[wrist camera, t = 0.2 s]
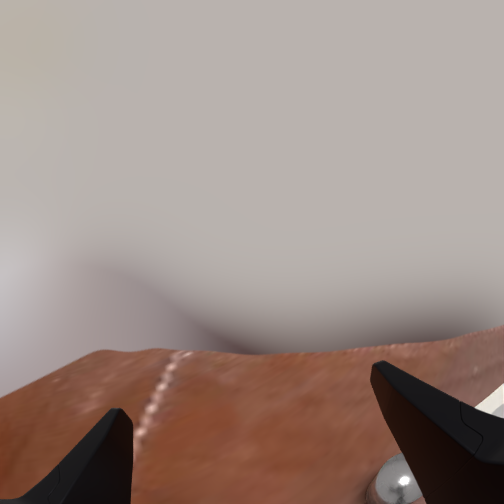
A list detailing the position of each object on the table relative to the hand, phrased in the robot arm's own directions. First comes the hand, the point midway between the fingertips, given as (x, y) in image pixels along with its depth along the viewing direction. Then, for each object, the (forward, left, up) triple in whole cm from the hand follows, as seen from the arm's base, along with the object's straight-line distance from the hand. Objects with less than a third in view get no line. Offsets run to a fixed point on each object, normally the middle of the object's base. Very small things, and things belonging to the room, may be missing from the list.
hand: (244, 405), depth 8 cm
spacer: (-2, -9, -17) cm, 19 cm away
